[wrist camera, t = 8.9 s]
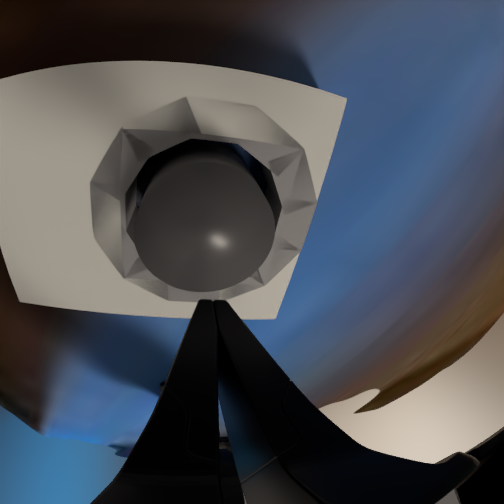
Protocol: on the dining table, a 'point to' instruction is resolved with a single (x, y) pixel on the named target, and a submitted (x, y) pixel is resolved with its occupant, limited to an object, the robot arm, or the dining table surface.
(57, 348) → the dining table surface
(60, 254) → the board
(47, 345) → the dining table surface
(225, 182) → the cap
